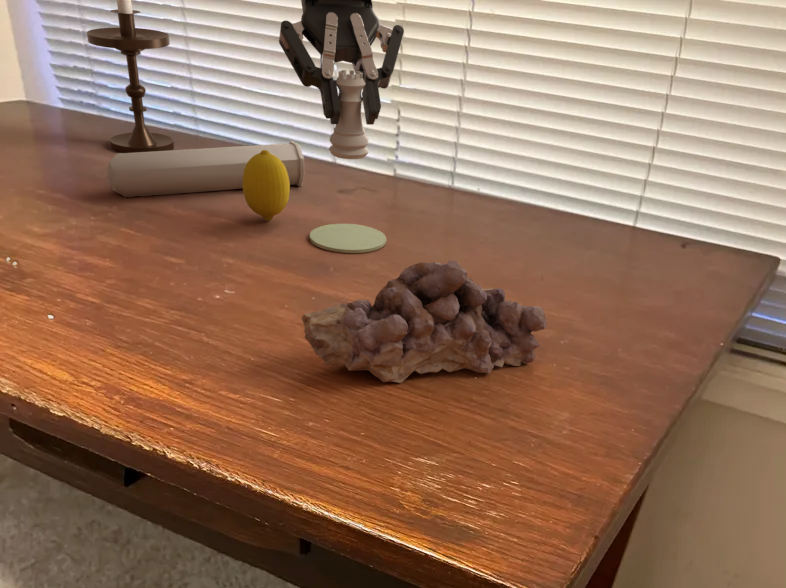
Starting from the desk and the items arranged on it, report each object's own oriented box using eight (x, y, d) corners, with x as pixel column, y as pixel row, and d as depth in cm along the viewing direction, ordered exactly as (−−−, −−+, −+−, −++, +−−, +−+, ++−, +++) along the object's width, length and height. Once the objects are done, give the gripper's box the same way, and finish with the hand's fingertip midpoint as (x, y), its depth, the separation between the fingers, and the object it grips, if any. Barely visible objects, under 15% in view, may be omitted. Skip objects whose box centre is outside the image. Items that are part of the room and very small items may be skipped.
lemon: (277, 211, 102) (275, 142, 97) (298, 224, 99) (297, 154, 94) (236, 216, 99) (232, 145, 94) (256, 230, 96) (253, 158, 91)
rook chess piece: (374, 152, 91) (377, 71, 86) (362, 162, 88) (364, 78, 83) (336, 147, 92) (336, 66, 87) (323, 156, 89) (323, 73, 83)
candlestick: (101, 155, 116) (50, -169, 94) (107, 136, 124) (60, -166, 102) (180, 156, 118) (147, -160, 96) (180, 137, 126) (150, -158, 104)
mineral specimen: (496, 268, 76) (535, 214, 67) (535, 366, 76) (581, 327, 66) (291, 329, 71) (302, 280, 62) (332, 435, 71) (350, 402, 61)
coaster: (306, 250, 92) (306, 247, 92) (312, 224, 99) (312, 221, 99) (386, 255, 92) (386, 252, 92) (386, 229, 99) (386, 225, 99)
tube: (110, 169, 98) (306, 156, 107) (100, 143, 100) (292, 133, 109) (114, 208, 102) (302, 193, 111) (104, 183, 104) (290, 169, 114)
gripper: (268, -66, 82) (291, 96, 80) (402, -57, 85) (427, 98, 84) (263, -9, 89) (284, 140, 88) (387, -4, 93) (409, 140, 91)
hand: (354, 119), depth 86 cm, fingers closed on rook chess piece, 3 cm apart
